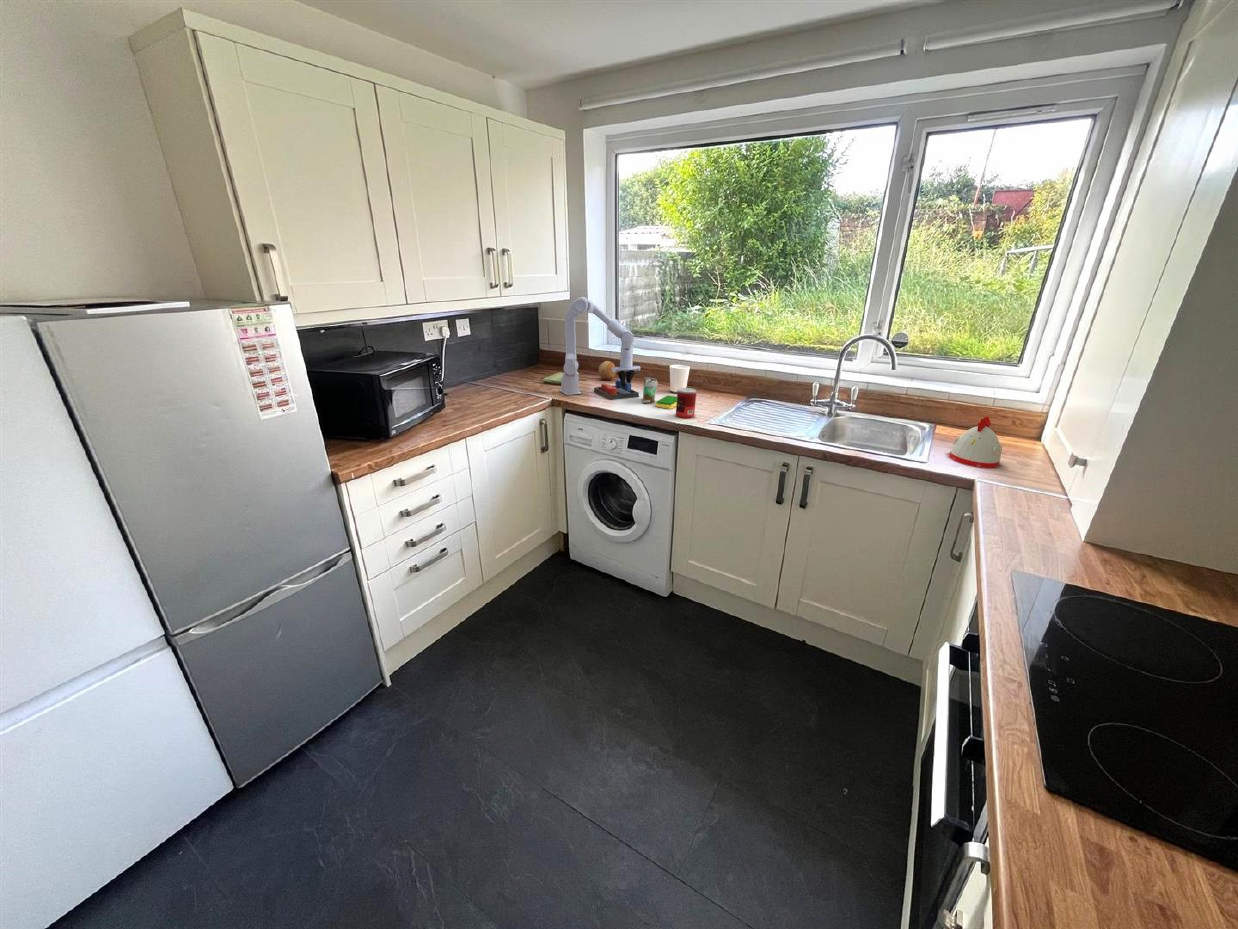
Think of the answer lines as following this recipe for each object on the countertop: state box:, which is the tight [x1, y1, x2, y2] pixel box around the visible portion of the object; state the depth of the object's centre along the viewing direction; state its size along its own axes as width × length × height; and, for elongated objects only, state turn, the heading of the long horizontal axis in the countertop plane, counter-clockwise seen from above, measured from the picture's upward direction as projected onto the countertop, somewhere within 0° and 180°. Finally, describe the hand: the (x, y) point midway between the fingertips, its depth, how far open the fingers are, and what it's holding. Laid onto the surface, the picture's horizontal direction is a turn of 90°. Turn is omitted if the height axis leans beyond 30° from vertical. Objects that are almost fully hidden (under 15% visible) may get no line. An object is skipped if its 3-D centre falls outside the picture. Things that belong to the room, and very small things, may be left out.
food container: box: [642, 376, 659, 405], centre depth 226 cm, size 12×6×10 cm, turn 179°
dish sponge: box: [655, 395, 677, 410], centre depth 223 cm, size 7×14×2 cm, turn 154°
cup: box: [669, 364, 691, 394], centre depth 245 cm, size 10×10×13 cm
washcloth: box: [542, 372, 564, 386], centre depth 260 cm, size 13×18×3 cm
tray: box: [593, 385, 640, 401], centre depth 238 cm, size 15×17×2 cm
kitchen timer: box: [948, 416, 1003, 469], centre depth 164 cm, size 14×14×15 cm
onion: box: [598, 360, 617, 381], centre depth 267 cm, size 10×10×10 cm
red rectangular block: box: [600, 383, 617, 395], centre depth 236 cm, size 4×11×3 cm, turn 28°
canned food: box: [675, 387, 697, 419], centre depth 205 cm, size 8×8×11 cm
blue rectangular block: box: [614, 378, 632, 391], centre depth 238 cm, size 4×11×3 cm, turn 28°
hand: (625, 386), depth 237 cm, fingers closed on blue rectangular block, 2 cm apart
